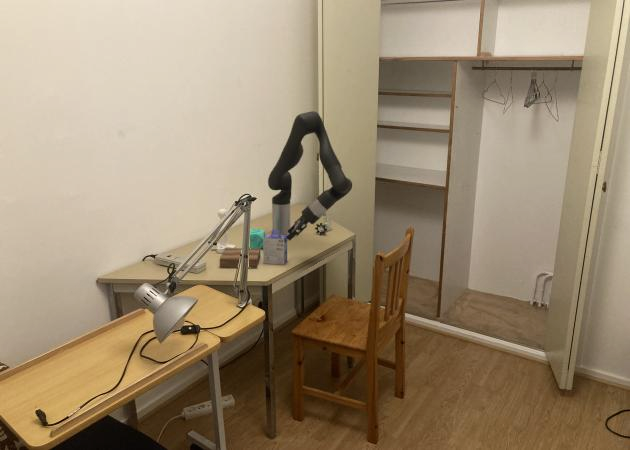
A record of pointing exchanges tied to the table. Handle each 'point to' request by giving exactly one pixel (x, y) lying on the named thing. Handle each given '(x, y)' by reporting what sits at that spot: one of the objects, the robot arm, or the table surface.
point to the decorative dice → (256, 238)
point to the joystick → (223, 240)
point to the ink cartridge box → (275, 248)
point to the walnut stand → (233, 254)
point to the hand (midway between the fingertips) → (288, 235)
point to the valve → (324, 226)
